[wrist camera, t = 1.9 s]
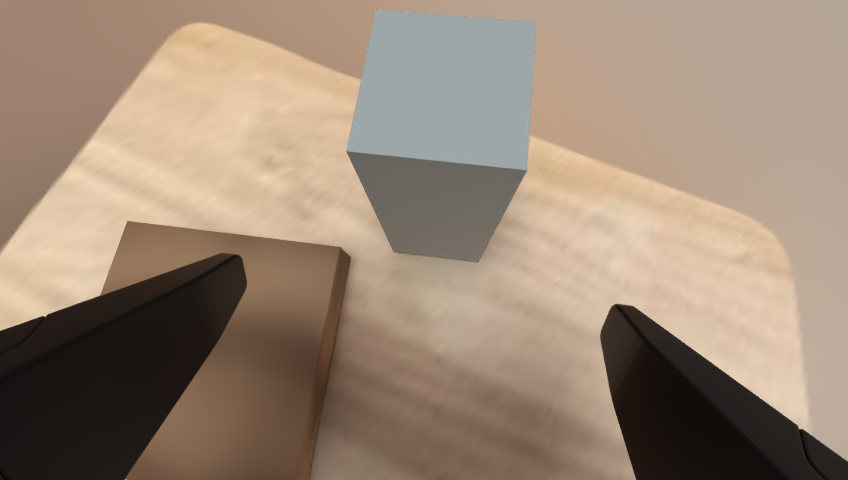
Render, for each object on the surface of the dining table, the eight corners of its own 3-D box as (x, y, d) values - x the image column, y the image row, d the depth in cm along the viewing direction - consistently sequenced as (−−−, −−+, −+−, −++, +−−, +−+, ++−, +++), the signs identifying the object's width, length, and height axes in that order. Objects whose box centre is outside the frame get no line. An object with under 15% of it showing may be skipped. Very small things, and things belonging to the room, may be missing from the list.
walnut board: (307, 485, 19) (288, 507, 16) (88, 448, 19) (38, 464, 17) (350, 257, 22) (340, 247, 19) (160, 233, 22) (127, 221, 20)
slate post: (477, 262, 21) (526, 170, 10) (393, 252, 22) (346, 151, 10) (485, 184, 23) (536, 22, 11) (405, 175, 23) (376, 9, 11)
